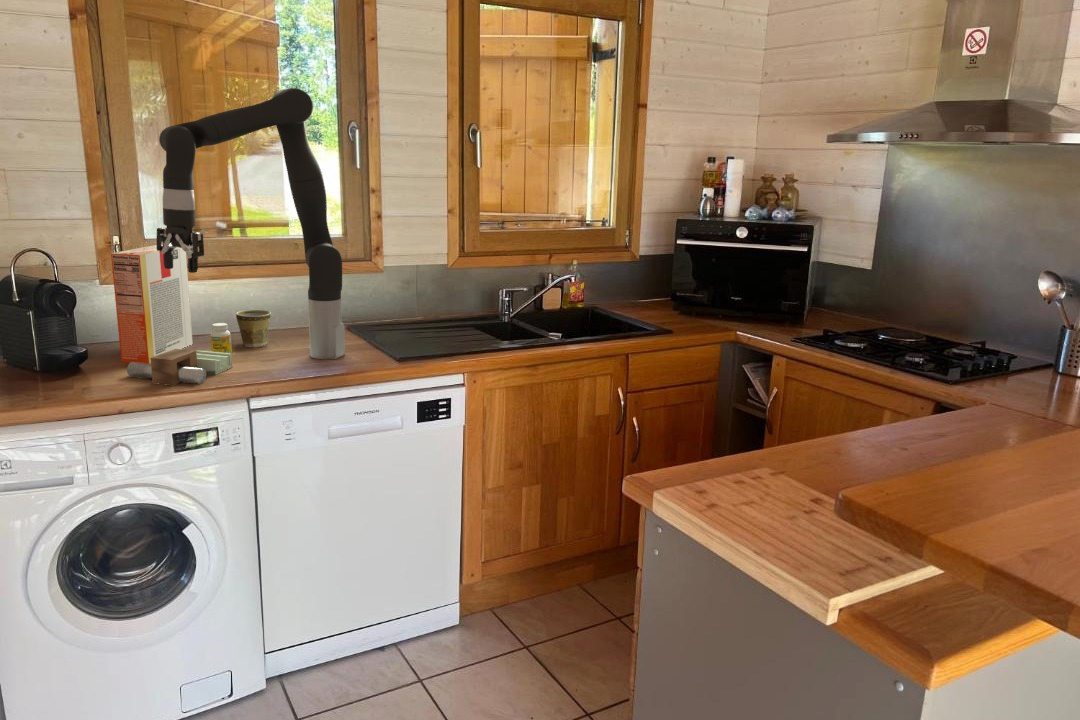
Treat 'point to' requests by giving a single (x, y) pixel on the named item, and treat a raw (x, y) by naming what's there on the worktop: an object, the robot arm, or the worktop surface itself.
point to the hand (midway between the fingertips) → (180, 270)
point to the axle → (183, 372)
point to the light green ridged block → (213, 361)
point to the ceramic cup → (254, 326)
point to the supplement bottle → (221, 338)
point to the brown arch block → (171, 365)
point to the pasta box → (151, 303)
